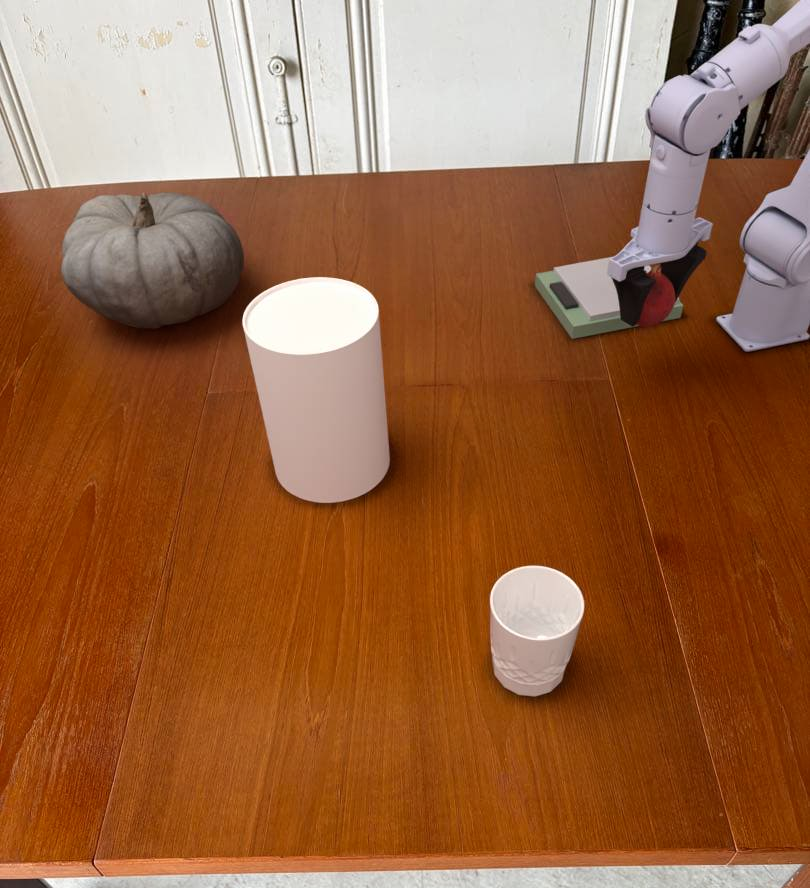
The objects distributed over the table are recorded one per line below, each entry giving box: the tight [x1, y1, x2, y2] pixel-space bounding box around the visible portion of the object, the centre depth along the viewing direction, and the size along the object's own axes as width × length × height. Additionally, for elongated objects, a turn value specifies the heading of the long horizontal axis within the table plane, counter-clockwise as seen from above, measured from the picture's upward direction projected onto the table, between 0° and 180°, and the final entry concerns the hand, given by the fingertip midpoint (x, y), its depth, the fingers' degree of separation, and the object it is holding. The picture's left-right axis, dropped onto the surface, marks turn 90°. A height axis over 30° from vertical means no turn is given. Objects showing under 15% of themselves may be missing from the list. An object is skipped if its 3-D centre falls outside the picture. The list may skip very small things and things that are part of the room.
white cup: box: [489, 565, 585, 697], centre depth 72 cm, size 8×8×10 cm
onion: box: [637, 264, 675, 328], centre depth 96 cm, size 6×6×8 cm
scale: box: [534, 256, 684, 340], centre depth 115 cm, size 16×14×3 cm
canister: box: [242, 276, 391, 504], centre depth 88 cm, size 14×14×20 cm
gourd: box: [60, 192, 245, 330], centre depth 114 cm, size 25×25×17 cm
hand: (647, 312), depth 98 cm, fingers closed on onion, 6 cm apart
